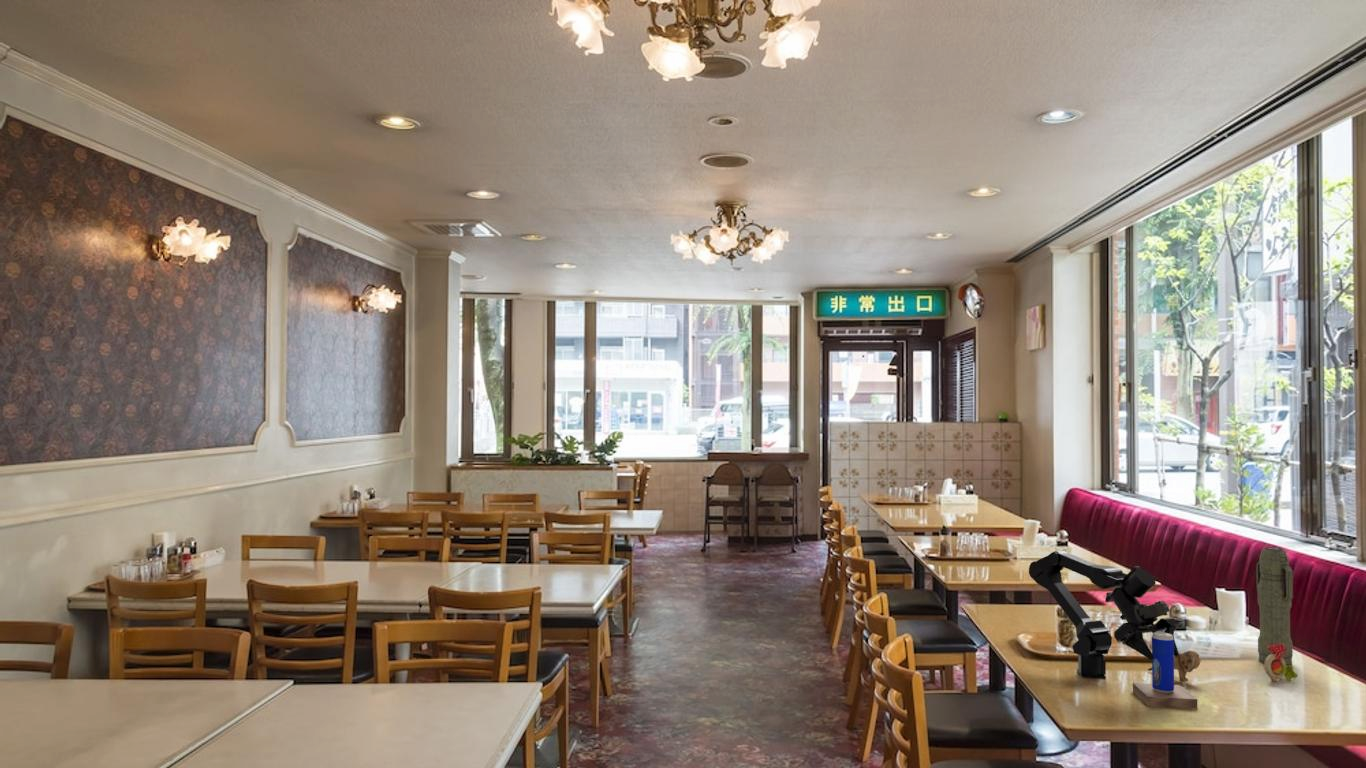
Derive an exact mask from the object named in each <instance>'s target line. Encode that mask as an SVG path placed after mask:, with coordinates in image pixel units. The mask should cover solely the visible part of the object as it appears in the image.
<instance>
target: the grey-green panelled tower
mask: <svg viewBox="0 0 1366 768" xmlns="http://www.w3.org/2000/svg"><path fill="white" fill-rule="evenodd" d="M1289 563H1290V560H1289V556H1288V554H1287V551H1286V550H1285V549H1283V548H1281V547H1275V546H1266V547H1263V548H1262V549H1261V552H1260V555H1259V560H1258V561H1257V562H1256V564H1255V575H1256V576H1255V580H1256V581H1255V582H1256V583H1255V585H1256V593H1257V604H1258V606H1259V635H1258V639H1257V652H1258V662H1260V663H1262V664H1264V663H1265V660H1266V658H1267V656H1268V655H1270V654H1271V653H1272V652H1271V651H1270V650H1269V649H1268V647H1267V646H1268V645H1270V646H1271V645H1273V644H1275V645H1277V644H1281V643H1283V644H1284V648H1287V652H1285V653H1284V654H1281V656H1282V657H1283V659H1284V661H1285V663H1286V666H1289V665H1291V666H1293V655H1294V654H1293V652H1294V651H1293V648H1294V647H1293V641H1292V638H1291V608H1292V606H1293V605H1292V604H1293V603H1292V600H1293V599H1294V589H1293V588H1294V571H1293V569H1292V567H1291V566H1289V565H1290V564H1289ZM1273 661H1275V660H1273ZM1277 662H1278V661H1277Z"/></svg>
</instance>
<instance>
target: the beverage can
mask: <svg viewBox="0 0 1366 768" xmlns="http://www.w3.org/2000/svg"><path fill="white" fill-rule="evenodd" d="M1174 640H1175V637H1174V638H1173V635H1172V634H1169V633H1164V632H1154V633H1152V636H1151V652H1152V654H1153V656H1154V659H1153V660H1151V668H1152V670H1151V672H1152V673H1151V675H1152V676H1151V677H1152V678H1151V681H1152V682H1151V684H1152V687H1153V689H1154V690H1155V691H1158V692H1162V693H1172V692H1173V691H1174V685H1175V669H1174Z"/></svg>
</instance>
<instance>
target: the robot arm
mask: <svg viewBox="0 0 1366 768" xmlns="http://www.w3.org/2000/svg"><path fill="white" fill-rule="evenodd" d="M1064 569H1067V570H1070V571H1072V572H1074V573H1076V574H1079V575H1081V576H1084V577H1086V578H1088V579H1089V580H1090V583H1092V584H1093V585H1095V586H1096V587H1098V588H1099V589H1101V590H1110V589H1113V590H1112V591H1110V592H1106V596H1105V603H1114V605H1115V606H1116V607H1117V609H1118V611H1119V612H1120V614H1121V615H1120V616H1119V618H1120V619H1121V621H1122V620H1123V621H1124V620H1125V621H1126V622H1123V623H1122V624H1121V625H1120V626H1119V627H1118V628H1116V630H1114V631H1113V636H1112V635H1111V633H1110V632H1111V630H1110V629H1108V628H1107V627H1106V625H1105V623H1104V622H1103V621H1102V620H1100V619H1098V620H1093V619H1091V618H1090V616H1089V615H1088V613H1087V612H1086V611H1085V610H1084V608H1083V607H1082V606H1081V605H1080V603H1079V602H1078V601H1077V599H1076V598H1075V597H1074V595H1073V594H1072V592H1070V590H1069V588H1067V586H1066V585H1065V583H1064V582H1063V581H1062V572H1061V571H1063V570H1064ZM1028 574H1029V577H1030V578H1031V579H1032V580H1033V581H1034V582H1035V583H1036V584H1037V585H1039V586H1040V587H1042V588H1044V589H1046V590H1047V591H1048V593H1050V595H1051V596H1052V598H1053V599H1054V600H1055V601H1056V603H1057V605H1058V606H1059V607H1060V608H1061V610H1062V611H1063V612H1064V614H1065V615H1066V616H1067V618H1068V619H1069V621H1070V622H1071V623H1072V625H1074V628H1075V631H1076V633H1075V634H1076V639H1077V641H1076V642H1075V643H1074V644H1073V645H1072V650H1073V653H1074V654H1076V655H1077V660H1078V661H1077V664H1078V665H1077V666H1078V669H1076V672H1077V673H1078V674H1079V676H1081V677H1082V678H1089V679H1090V678H1091V679H1092V678H1093V679H1106V673H1107V671H1106V669H1107V668H1106V667H1107V666H1106V663H1107V662H1106V659H1104V655H1108V654H1109V650H1110V648H1111V647H1112V640H1113V637H1114V639H1115V640H1116V642H1117V643H1121V644H1123V645H1124V646H1127V647H1129V648H1131V649H1133V650H1134V651H1136V652H1138V653H1139V654H1141V655H1143V656H1144V657H1146V659H1149V660H1150V661H1152V660H1153V659H1154V656H1153V654H1152V650H1151V649H1150V648H1149V647H1148V645H1147V642H1146V641H1145V640H1144V636H1143V635H1144V634H1149V633H1152V634H1153V633H1154V632H1164V633H1169V634H1172V635H1173V638H1174V656H1178V655H1179V654H1180V653H1179V650H1178V647H1177V643H1176V641H1175V636H1174V635H1175V634H1174V633H1175V631H1176V630H1177V627H1178V626H1179V623H1178V622H1177V621H1176V619H1175V618H1174V617H1169V616H1168V615H1169V613H1168V612H1169V611H1170V606H1169V605H1168V604H1167V602H1165V601H1164V600H1159V601H1155V602H1154V604H1149V605H1147V604H1145V603H1141V602H1140V601H1139V599H1140V598H1142V597H1144V596H1145V595H1146V594H1147V593H1148V592H1149V591H1150V590H1152V588H1154V586H1155V585H1156V579H1155V577H1154V576H1153V575H1152V574H1150V572H1148V571H1146V570H1145V569H1142V568H1141V566H1139V565H1137V566H1133V567H1132V568H1131V569H1130V571H1129V572H1128V573H1125V572H1124V571H1123V570H1122V569H1121V568H1119V567H1116V566H1110V565H1101V564H1097V563H1094V562H1091V561H1090V560H1087V559H1084V558H1082V557H1079V556H1076V555H1074V554H1071V553H1069V551H1066V550H1055V551H1052V552H1051V553H1049V554H1048V555H1046V556H1044V557H1042V558H1039V559H1038V560H1036V561H1032V562H1031V563H1030V564H1029V566H1028ZM1138 598H1139V599H1138ZM1162 616H1168V617H1163V618H1160V617H1162ZM1158 617H1159V620H1158ZM1156 621H1157V622H1156ZM1154 622H1156V623H1154Z"/></svg>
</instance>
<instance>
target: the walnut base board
mask: <svg viewBox="0 0 1366 768" xmlns="http://www.w3.org/2000/svg"><path fill="white" fill-rule="evenodd" d="M1132 693H1133V694H1134V695H1136V697H1137V698H1138V699H1140V700H1141V701H1142V702H1143V703H1144V705H1146V706H1147V707H1157V708H1169V709H1170V708H1173V709H1174V708H1175V709H1189V708H1197V709H1198V698H1196V697H1195V696H1194V695H1193V694H1191V692H1189V691H1188V690H1186V689H1185V688H1184V687H1182V686H1181V685H1180V684H1174V691H1173V692H1172V693H1162V692H1158V691H1155V690H1154V689H1153V687H1152V683H1144V682H1142V683H1141V682H1132Z"/></svg>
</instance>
